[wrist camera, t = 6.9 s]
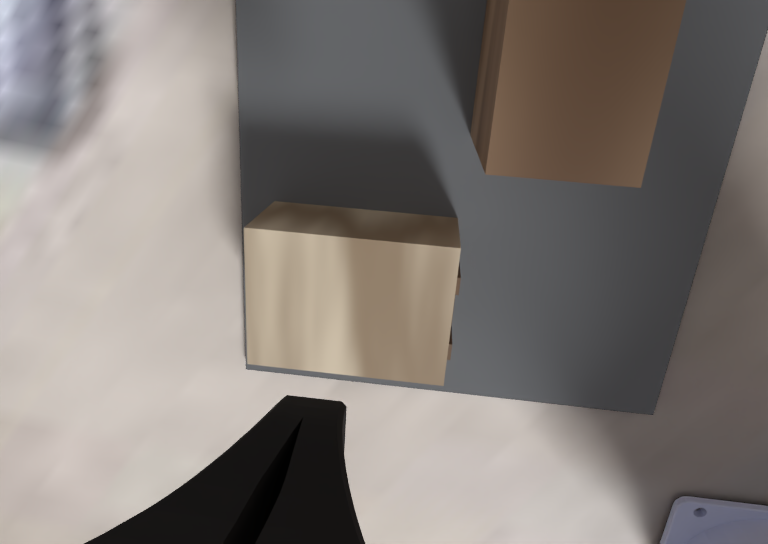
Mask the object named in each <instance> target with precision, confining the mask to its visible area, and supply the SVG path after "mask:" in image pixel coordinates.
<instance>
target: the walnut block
mask: <svg viewBox="0 0 768 544" xmlns="http://www.w3.org/2000/svg"><path fill="white" fill-rule="evenodd" d="M685 4H686V0H487V3H486V12H485V20H484V28H483V36H482V44H481V52H480V60H479V68H478V76H477V85H476V93H475V101H474V109H473V117H472V125H471V133H470V136H471V138H472V141H473V144H474V146H475V149H476V151H477V154H478V157H479V159H480V162H481V165H482V167H483V170H484V172H485V174H486V175H497V176H509V177H520V178H532V179H543V180H555V181H567V182H578V183H590V184H601V185H613V186H624V187H636V188H641V185H642V181H643V177H644V173H645V168H646V164H647V160H648V156H649V152H650V148H651V144H652V140H653V136H654V131H655V127H656V123H657V119H658V115H659V111H660V107H661V103H662V99H663V94H664V90H665V86H666V82H667V78H668V74H669V70H670V66H671V62H672V57H673V53H674V49H675V45H676V41H677V37H678V33H679V29H680V25H681V20H682V16H683V12H684V8H685Z"/></svg>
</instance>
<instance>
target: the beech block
mask: <svg viewBox="0 0 768 544" xmlns="http://www.w3.org/2000/svg"><path fill="white" fill-rule="evenodd" d="M460 252H461V244H460V235H459V225H458V218H453V217H442V216H431V215H420V214H410V213H399V212H388V211H377V210H366V209H355V208H344V207H333V206H323V205H312V204H301V203H290V202H279V201H274V202H273V203H272V204H271V205H270V206H268V207H267V208H266V209H265V210H264V211H263V212H261V213H260V214H259V215H258V216H257V217H256V218H254V219H253V220H252V221H251V222H250V223H249V224H247V225H246V226H245V227H244V255H245V292H246V330H247V364H251V365H260V366H269V367H278V368H287V369H296V370H305V371H314V372H323V373H332V374H341V375H350V376H359V377H368V378H377V379H386V380H394V381H403V382H412V383H421V384H430V385H439V386H444V378H445V370H446V362H447V360H450V359H451V351H452V318H453V310H454V302H455V295H459V289H460V281H461V273H460V262H459V260H460Z"/></svg>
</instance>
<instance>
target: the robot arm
mask: <svg viewBox="0 0 768 544" xmlns="http://www.w3.org/2000/svg"><path fill="white" fill-rule="evenodd" d="M345 424H346V406H345V405H344V404H343V402H341V401H332V400H324V399H315V398H306V397H298V396H289V395H287V396H285V397H284V398H283V399H282V400H281V401H280V402H279V403H277V404H276V405H275V406H274V407H273V408H272V409H271V410H270V411H269V412H268V413H267V414H266V415H265V416H264V417H263V418H262V419H261V420H260V421H259V422H258V423H257V424H256V425H255V426H254V427H253V428H251V429H250V430H249V431H248V432H247V433H246V434H245V435H244V436H243V437H241V438H240V439H239V440H238V441H237V442H236V443H235V444H234V445H232V446H231V447H230V448H229V449H228V450H227V451H226V452H224V453H223V454H222V455H221V456H220V457H218V458H217V459H216V460H215V461H213V462H212V463H211V464H210V465H208V466H207V467H206V468H205V469H203V470H202V471H201V472H199V473H198V474H197V475H196V476H194V477H193V478H192V479H190V480H189V481H188V482H186V483H185V484H184V485H182V486H181V487H179V488H178V489H177V490H175V491H174V492H172V493H171V494H169V495H168V496H166V497H165V498H163V499H162V500H160V501H159V502H157V503H156V504H154V505H153V506H151V507H149V508H148V509H146V510H144V511H143V512H141V513H139V514H137V515H136V516H134V517H132V518H130V519H129V520H127V521H125V522H123V523H122V524H120V525H118V526H116V527H115V528H113V529H111V530H109V531H108V532H106V533H104V534H102V535H100V536H98V537H96V538H94V539H92V540H90V541H88V542H86V543H84V544H365V542H364V539H363V536H362V533H361V530H360V526H359V523H358V520H357V517H356V513H355V509H354V505H353V501H352V497H351V493H350V488H349V484H348V478H347V473H346V466H345V459H344V444H345ZM698 508H701V509H699V510H696V509H698ZM660 544H768V506H764V505H756V504H748V503H740V502H731V501H723V500H715V499H707V498H698V497H690V496H683V497H680V498H678V499H676V500H675V502H674V503H673V506H672V509H671V512H670V515H669V518H668V520H667V523H666V526H665V529H664V532H663V535H662V538H661V541H660Z"/></svg>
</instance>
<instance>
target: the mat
mask: <svg viewBox="0 0 768 544" xmlns="http://www.w3.org/2000/svg"><path fill="white" fill-rule="evenodd" d="M486 3H487V0H236V23H237V59H238V96H239V132H240V168H241V204H242V240H243V277H244V313H245V349H246V369H248V370H257V371H266V372H275V373H284V374H293V375H302V376H311V377H319V378H328V379H337V380H346V381H355V382H364V383H373V384H382V385H391V386H399V387H408V388H417V389H426V390H435V391H444V392H453V393H462V394H471V395H480V396H488V397H497V398H506V399H515V400H524V401H533V402H542V403H551V404H560V405H568V406H577V407H586V408H595V409H604V410H613V411H622V412H631V413H640V414H648V415H653V413H654V410H655V407H656V403H657V400H658V397H659V393H660V390H661V387H662V383H663V380H664V376H665V373H666V370H667V366H668V363H669V360H670V356H671V353H672V350H673V346H674V343H675V340H676V336H677V333H678V329H679V326H680V323H681V319H682V316H683V313H684V309H685V306H686V303H687V299H688V296H689V292H690V289H691V286H692V282H693V279H694V276H695V272H696V269H697V266H698V262H699V259H700V255H701V252H702V249H703V245H704V242H705V239H706V235H707V232H708V229H709V225H710V222H711V218H712V215H713V212H714V208H715V205H716V202H717V198H718V195H719V192H720V188H721V185H722V181H723V178H724V175H725V171H726V168H727V165H728V161H729V158H730V155H731V151H732V148H733V144H734V141H735V138H736V134H737V131H738V128H739V124H740V121H741V118H742V114H743V111H744V107H745V104H746V101H747V97H748V94H749V91H750V87H751V84H752V81H753V77H754V74H755V70H756V67H757V64H758V60H759V57H760V54H761V50H762V47H763V44H764V40H765V37H766V33H767V30H768V0H686V4H685V8H684V12H683V16H682V20H681V25H680V29H679V33H678V37H677V41H676V45H675V49H674V53H673V57H672V62H671V66H670V70H669V74H668V78H667V82H666V86H665V90H664V94H663V99H662V103H661V107H660V111H659V115H658V119H657V123H656V127H655V131H654V136H653V140H652V144H651V148H650V152H649V156H648V160H647V164H646V168H645V173H644V177H643V181H642V185H641V188H636V187H624V186H613V185H601V184H590V183H578V182H567V181H555V180H543V179H532V178H520V177H509V176H497V175H486V174H485V172H484V170H483V167H482V165H481V162H480V159H479V157H478V154H477V151H476V149H475V146H474V144H473V141H472V138H471V136H470V133H471V125H472V117H473V109H474V101H475V93H476V85H477V76H478V68H479V60H480V52H481V44H482V36H483V28H484V20H485V12H486ZM274 201H279V202H290V203H301V204H312V205H323V206H333V207H344V208H355V209H366V210H377V211H388V212H399V213H410V214H420V215H431V216H442V217H453V218H458V225H459V235H460V244H461V252H460V260H459V262H460V273H461V281H460V289H459V295H455V302H454V310H453V318H452V351H451V359H450V360H447V362H446V370H445V378H444V386H439V385H430V384H421V383H412V382H403V381H394V380H386V379H377V378H368V377H359V376H350V375H341V374H332V373H323V372H314V371H305V370H296V369H287V368H278V367H269V366H260V365H251V364H247V330H246V292H245V255H244V227H245V226H246V225H247V224H249V223H250V222H251V221H252V220H253V219H254V218H256V217H257V216H258V215H259V214H260V213H261V212H263V211H264V210H265V209H266V208H267V207H268V206H270V205H271V204H272V203H273V202H274Z"/></svg>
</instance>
